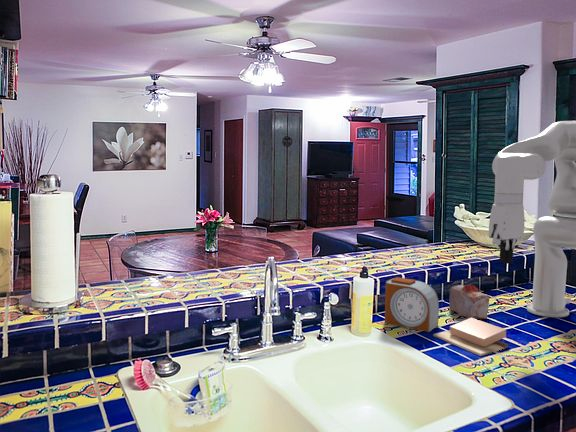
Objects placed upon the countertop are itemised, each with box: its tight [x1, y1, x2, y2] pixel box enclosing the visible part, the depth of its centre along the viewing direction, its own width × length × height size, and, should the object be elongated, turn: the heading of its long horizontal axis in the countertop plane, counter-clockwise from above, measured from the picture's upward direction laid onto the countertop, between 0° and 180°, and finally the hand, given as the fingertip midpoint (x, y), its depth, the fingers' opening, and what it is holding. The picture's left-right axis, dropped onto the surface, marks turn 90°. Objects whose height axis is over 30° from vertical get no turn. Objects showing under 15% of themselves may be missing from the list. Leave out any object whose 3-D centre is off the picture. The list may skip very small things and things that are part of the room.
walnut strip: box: [494, 340, 509, 350], centre depth 155 cm, size 1×17×1 cm, turn 30°
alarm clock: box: [384, 276, 440, 333], centre depth 167 cm, size 15×8×14 cm, turn 55°
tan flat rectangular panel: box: [432, 329, 505, 357], centre depth 152 cm, size 9×17×1 cm, turn 30°
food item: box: [448, 284, 490, 320], centre depth 176 cm, size 14×8×10 cm, turn 21°
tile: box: [449, 318, 507, 347], centre depth 154 cm, size 2×12×9 cm
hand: (506, 262), depth 156 cm, fingers closed
